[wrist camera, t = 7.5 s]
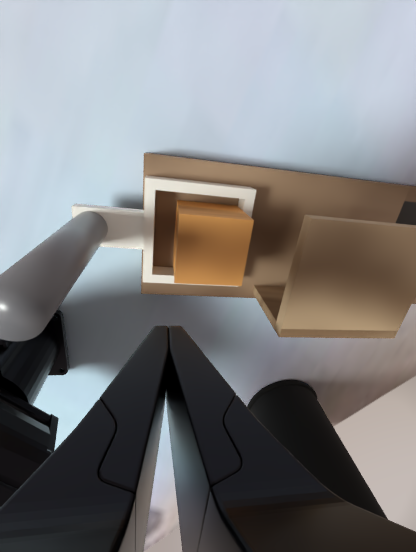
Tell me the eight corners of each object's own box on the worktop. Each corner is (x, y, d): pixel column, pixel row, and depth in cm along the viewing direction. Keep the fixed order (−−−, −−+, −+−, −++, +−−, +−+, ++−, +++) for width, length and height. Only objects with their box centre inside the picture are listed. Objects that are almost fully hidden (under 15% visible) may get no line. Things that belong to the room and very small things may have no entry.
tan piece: (409, 293, 26) (494, 345, 19) (143, 281, 22) (133, 343, 15) (458, 191, 22) (586, 212, 15) (146, 152, 18) (133, 156, 11)
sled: (234, 277, 20) (290, 388, 11) (81, 270, 19) (-5, 395, 9) (250, 186, 18) (342, 232, 8) (72, 167, 16) (-62, 197, 7)
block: (227, 260, 20) (241, 286, 16) (172, 257, 19) (174, 283, 16) (236, 205, 18) (254, 220, 15) (176, 199, 18) (179, 213, 14)
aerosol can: (269, 371, 28) (449, 763, 10) (329, 389, 31) (558, 729, 13) (232, 423, 31) (323, 804, 13) (290, 435, 33) (432, 769, 16)
